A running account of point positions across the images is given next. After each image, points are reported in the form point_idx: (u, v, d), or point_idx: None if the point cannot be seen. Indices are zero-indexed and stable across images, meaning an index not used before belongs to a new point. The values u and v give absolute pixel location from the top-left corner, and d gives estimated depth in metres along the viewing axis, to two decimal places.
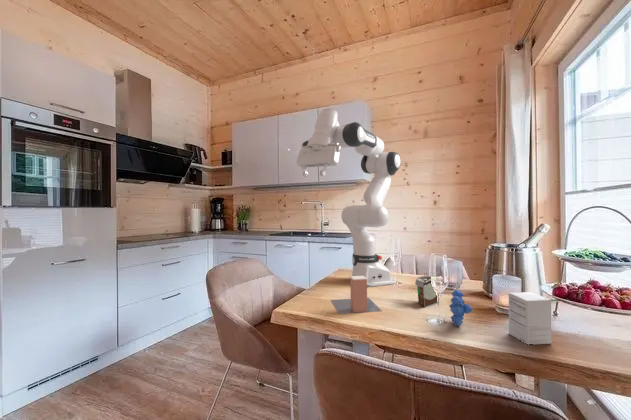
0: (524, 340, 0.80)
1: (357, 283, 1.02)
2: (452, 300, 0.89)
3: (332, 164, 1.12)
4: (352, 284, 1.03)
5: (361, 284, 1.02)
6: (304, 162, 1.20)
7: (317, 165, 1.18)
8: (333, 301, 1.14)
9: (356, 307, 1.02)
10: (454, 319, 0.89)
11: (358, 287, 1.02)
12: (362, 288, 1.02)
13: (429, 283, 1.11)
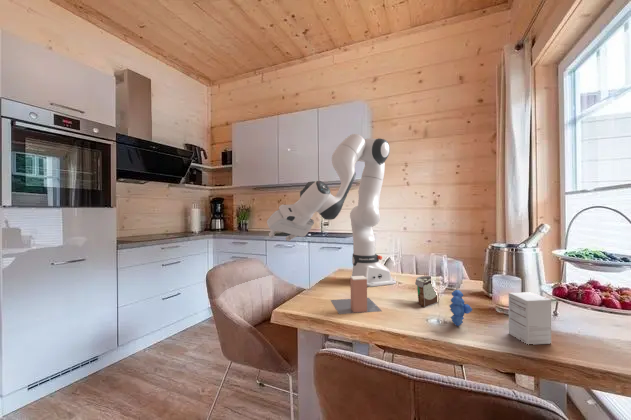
0: (524, 340, 0.80)
1: (357, 283, 1.02)
2: (452, 300, 0.89)
3: None
4: (352, 284, 1.03)
5: (361, 284, 1.02)
6: (278, 230, 1.13)
7: None
8: (333, 301, 1.14)
9: (356, 307, 1.02)
10: (454, 319, 0.89)
11: (358, 287, 1.02)
12: (362, 288, 1.02)
13: (429, 283, 1.11)
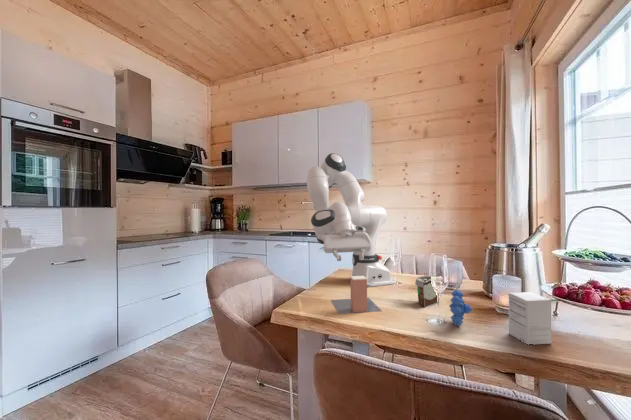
0: (524, 340, 0.80)
1: (357, 283, 1.02)
2: (452, 300, 0.89)
3: (328, 250, 1.17)
4: (352, 284, 1.03)
5: (361, 284, 1.02)
6: None
7: None
8: (333, 301, 1.14)
9: (356, 307, 1.02)
10: (454, 319, 0.89)
11: (358, 287, 1.02)
12: (362, 288, 1.02)
13: (429, 283, 1.11)
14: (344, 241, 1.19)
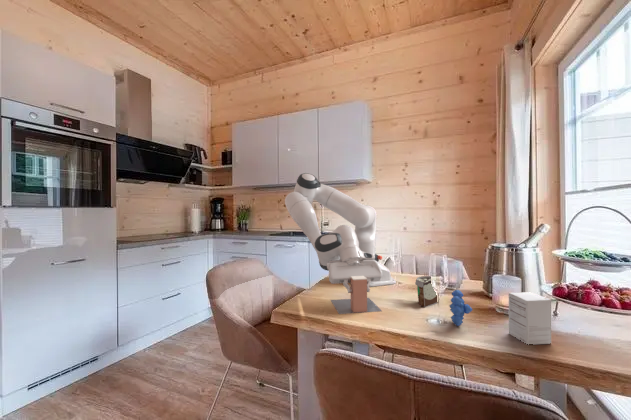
0: (524, 340, 0.80)
1: (357, 283, 1.02)
2: (452, 300, 0.89)
3: (334, 281, 1.05)
4: (352, 284, 1.03)
5: (361, 284, 1.02)
6: None
7: None
8: (333, 301, 1.14)
9: (356, 307, 1.02)
10: (454, 319, 0.89)
11: (358, 287, 1.02)
12: (362, 288, 1.02)
13: (429, 283, 1.11)
14: (352, 270, 1.07)
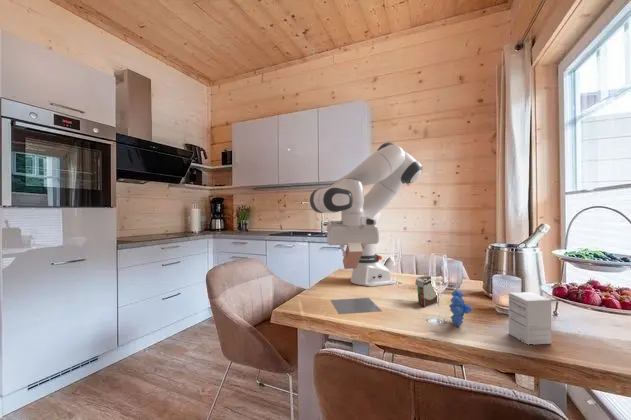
0: (524, 340, 0.80)
1: (352, 253, 1.08)
2: (452, 300, 0.89)
3: None
4: (348, 252, 1.09)
5: (356, 254, 1.08)
6: None
7: None
8: (333, 301, 1.14)
9: (347, 266, 1.14)
10: (454, 319, 0.89)
11: (353, 255, 1.09)
12: (356, 256, 1.09)
13: (429, 283, 1.11)
14: (350, 236, 1.09)
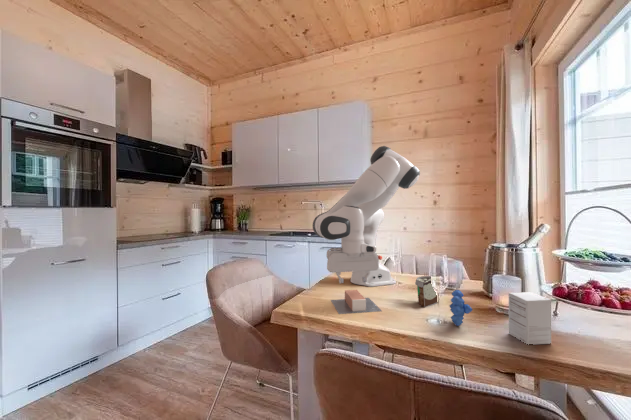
0: (524, 340, 0.80)
1: None
2: (452, 300, 0.89)
3: None
4: (351, 305, 1.05)
5: None
6: None
7: None
8: (333, 301, 1.14)
9: None
10: (454, 319, 0.89)
11: None
12: None
13: (429, 283, 1.11)
14: (350, 263, 1.09)
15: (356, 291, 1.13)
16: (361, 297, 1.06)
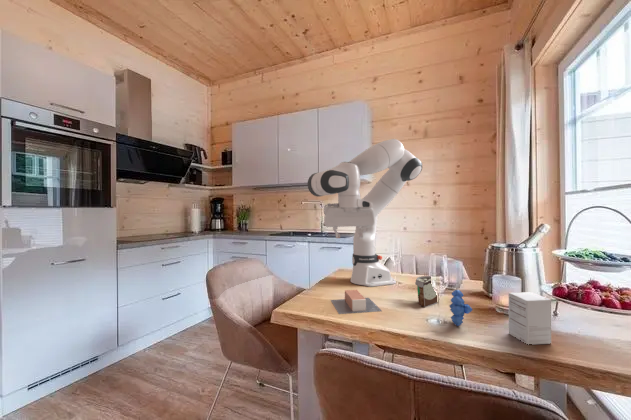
0: (524, 340, 0.80)
1: None
2: (452, 300, 0.89)
3: (328, 226, 1.13)
4: (351, 305, 1.05)
5: None
6: None
7: None
8: (333, 301, 1.14)
9: None
10: (454, 319, 0.89)
11: None
12: None
13: (429, 283, 1.11)
14: (347, 218, 1.12)
15: (356, 291, 1.13)
16: (361, 297, 1.06)
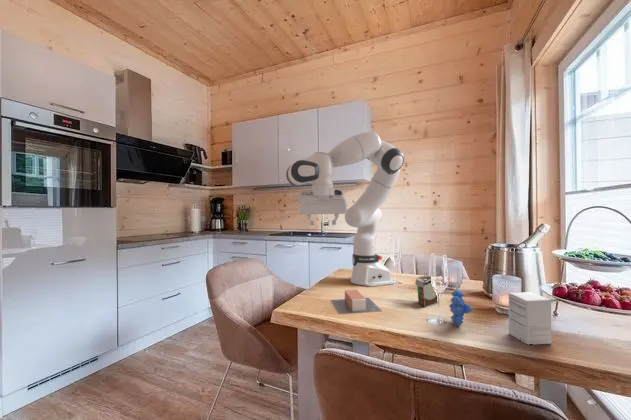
0: (524, 340, 0.80)
1: None
2: (452, 300, 0.89)
3: None
4: (351, 305, 1.05)
5: None
6: None
7: None
8: (333, 301, 1.14)
9: None
10: (454, 319, 0.89)
11: None
12: None
13: (429, 283, 1.11)
14: (320, 206, 1.17)
15: (356, 291, 1.13)
16: (361, 297, 1.06)
